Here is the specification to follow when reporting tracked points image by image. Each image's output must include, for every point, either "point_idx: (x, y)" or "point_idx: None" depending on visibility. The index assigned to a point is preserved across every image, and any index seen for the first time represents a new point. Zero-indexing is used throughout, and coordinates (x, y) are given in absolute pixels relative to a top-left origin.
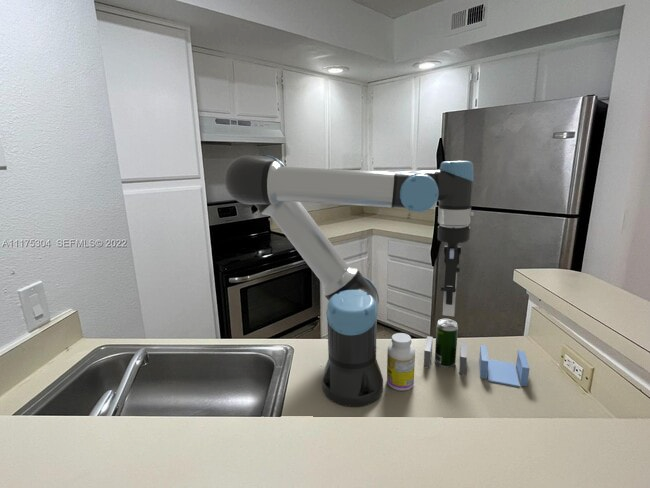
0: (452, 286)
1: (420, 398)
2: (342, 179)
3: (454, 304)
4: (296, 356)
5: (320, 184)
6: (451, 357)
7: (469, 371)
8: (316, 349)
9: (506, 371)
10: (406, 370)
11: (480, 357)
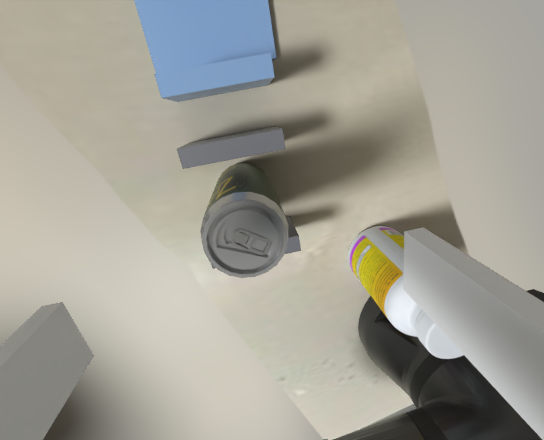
0: (22, 388)
1: (408, 199)
2: None
3: (494, 276)
4: (364, 422)
5: None
6: (265, 176)
7: (252, 119)
8: (329, 413)
9: (199, 3)
10: None
11: (212, 91)
